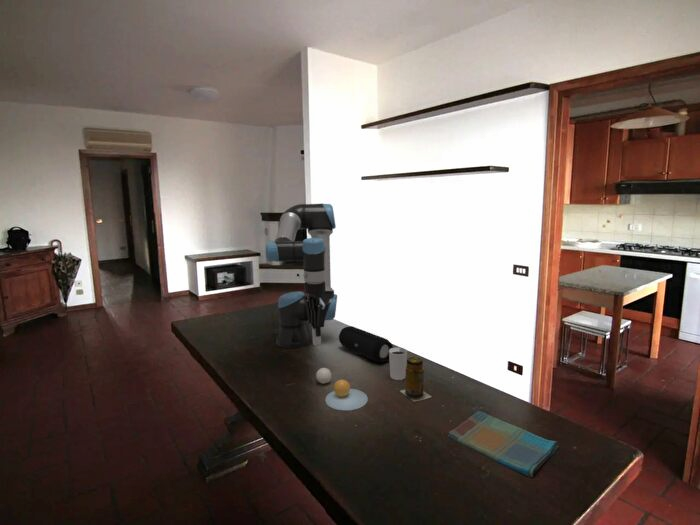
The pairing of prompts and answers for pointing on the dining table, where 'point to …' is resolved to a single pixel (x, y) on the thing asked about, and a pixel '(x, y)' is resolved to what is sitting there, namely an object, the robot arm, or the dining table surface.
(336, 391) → the orange ball
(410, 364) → the condiment
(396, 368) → the white cup
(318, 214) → the robot arm
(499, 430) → the dish towel
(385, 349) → the portable speaker
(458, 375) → the dining table surface
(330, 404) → the blue mark
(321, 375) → the ivory ball
